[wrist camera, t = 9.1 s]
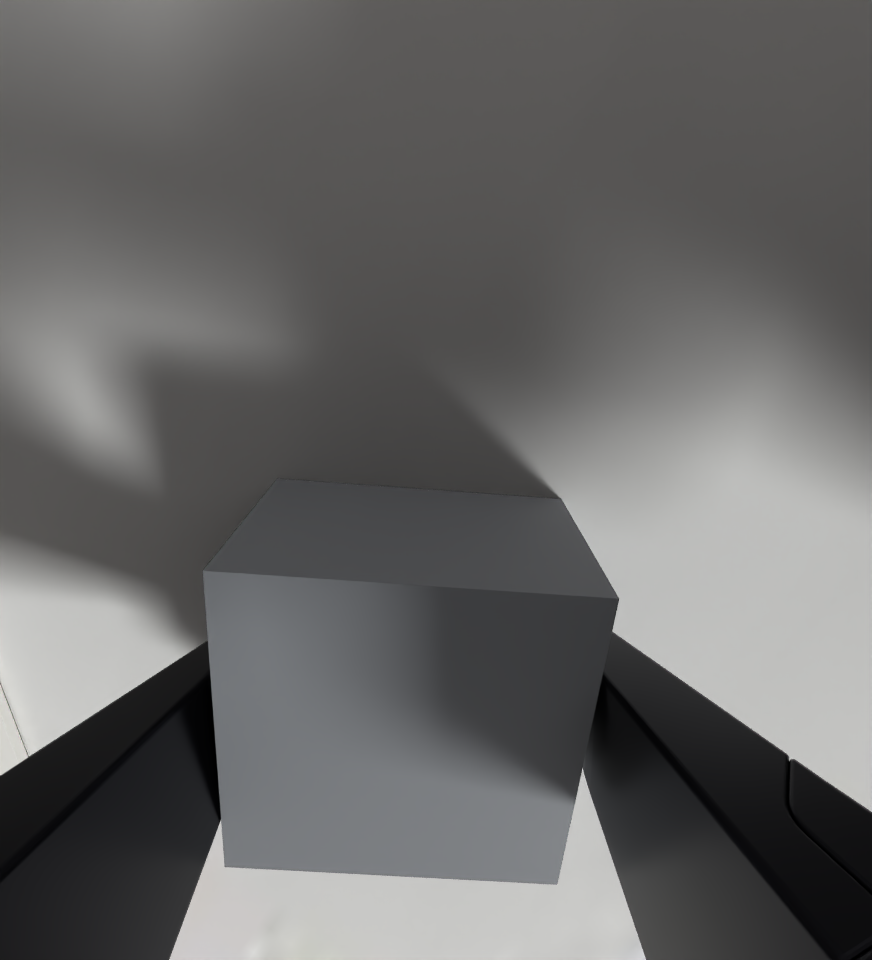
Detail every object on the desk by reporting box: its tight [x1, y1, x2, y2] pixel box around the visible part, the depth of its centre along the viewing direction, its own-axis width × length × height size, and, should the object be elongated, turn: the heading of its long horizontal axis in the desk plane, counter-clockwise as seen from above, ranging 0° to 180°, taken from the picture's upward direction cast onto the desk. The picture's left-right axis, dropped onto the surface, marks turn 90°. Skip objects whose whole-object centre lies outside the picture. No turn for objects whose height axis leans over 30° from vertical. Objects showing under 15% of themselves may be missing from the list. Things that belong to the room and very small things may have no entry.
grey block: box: [203, 479, 619, 885], centre depth 8 cm, size 4×4×3 cm
